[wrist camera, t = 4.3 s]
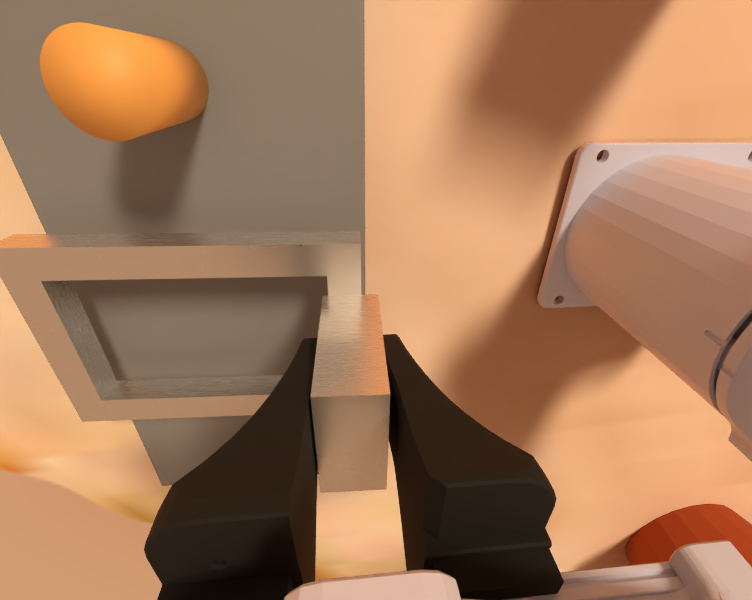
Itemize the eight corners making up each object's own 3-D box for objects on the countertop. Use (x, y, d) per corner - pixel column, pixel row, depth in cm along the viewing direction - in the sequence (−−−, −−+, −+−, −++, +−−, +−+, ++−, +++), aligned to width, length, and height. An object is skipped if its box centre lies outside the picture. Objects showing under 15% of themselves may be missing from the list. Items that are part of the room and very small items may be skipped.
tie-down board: (361, -129, 11) (363, -145, 10) (364, 456, 25) (365, 469, 24) (-105, -158, 10) (-145, -180, 9) (168, 471, 24) (162, 485, 23)
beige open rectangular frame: (376, 230, 14) (392, 329, 8) (374, 391, 18) (384, 524, 13) (13, 234, 13) (-218, 344, 8) (98, 400, 17) (-15, 547, 12)
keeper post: (199, 39, 12) (137, 23, 8) (215, 122, 13) (167, 140, 9) (121, 38, 12) (20, 20, 8) (143, 121, 13) (66, 141, 9)
